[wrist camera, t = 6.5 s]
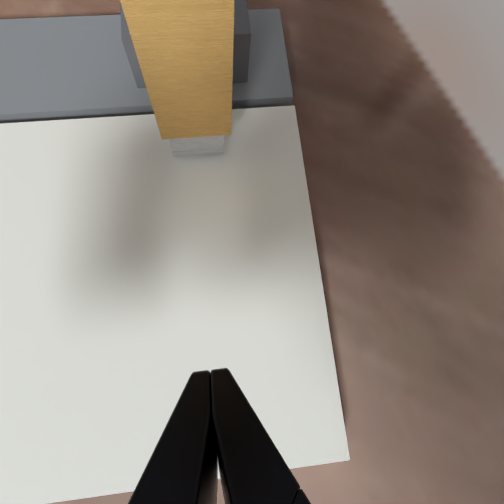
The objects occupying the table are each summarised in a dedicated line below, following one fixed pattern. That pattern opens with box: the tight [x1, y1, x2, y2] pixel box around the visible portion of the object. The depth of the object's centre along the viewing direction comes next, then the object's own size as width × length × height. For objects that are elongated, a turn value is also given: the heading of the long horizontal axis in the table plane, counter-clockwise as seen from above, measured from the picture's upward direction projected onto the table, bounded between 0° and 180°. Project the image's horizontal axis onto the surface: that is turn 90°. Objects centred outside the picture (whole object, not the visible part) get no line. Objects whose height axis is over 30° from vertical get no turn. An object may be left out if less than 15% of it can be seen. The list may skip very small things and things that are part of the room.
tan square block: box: [120, 0, 234, 157], centre depth 15 cm, size 7×3×10 cm, turn 6°
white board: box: [0, 0, 350, 504], centre depth 17 cm, size 22×16×5 cm
